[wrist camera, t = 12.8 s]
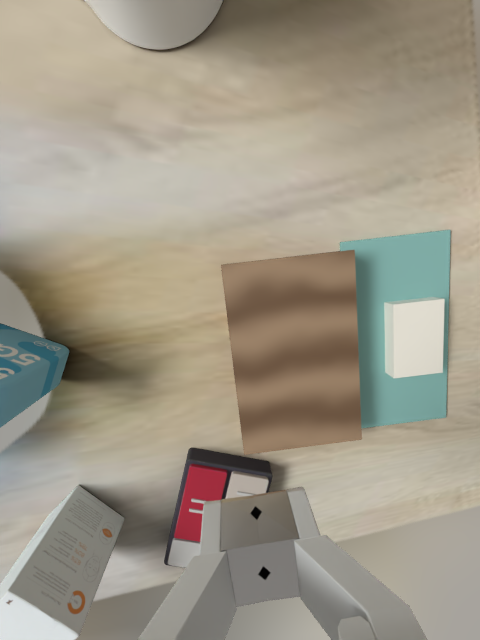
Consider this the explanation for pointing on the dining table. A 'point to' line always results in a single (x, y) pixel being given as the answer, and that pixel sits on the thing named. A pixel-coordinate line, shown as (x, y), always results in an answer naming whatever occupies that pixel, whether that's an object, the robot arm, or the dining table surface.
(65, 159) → the dining table surface
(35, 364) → the data package
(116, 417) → the dining table surface
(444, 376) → the mat
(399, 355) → the white rectangular eraser
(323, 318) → the board
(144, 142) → the dining table surface
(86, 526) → the small box
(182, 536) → the calculator
